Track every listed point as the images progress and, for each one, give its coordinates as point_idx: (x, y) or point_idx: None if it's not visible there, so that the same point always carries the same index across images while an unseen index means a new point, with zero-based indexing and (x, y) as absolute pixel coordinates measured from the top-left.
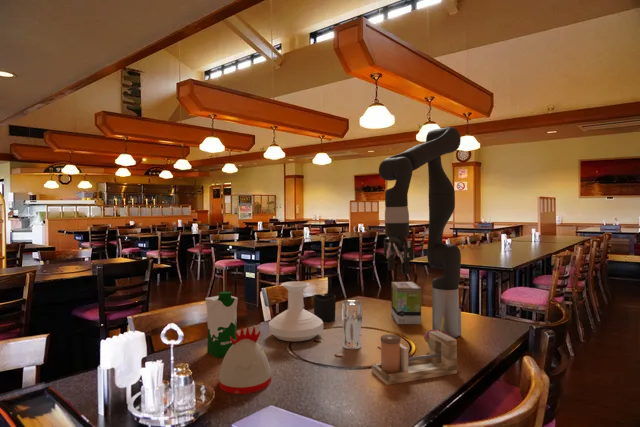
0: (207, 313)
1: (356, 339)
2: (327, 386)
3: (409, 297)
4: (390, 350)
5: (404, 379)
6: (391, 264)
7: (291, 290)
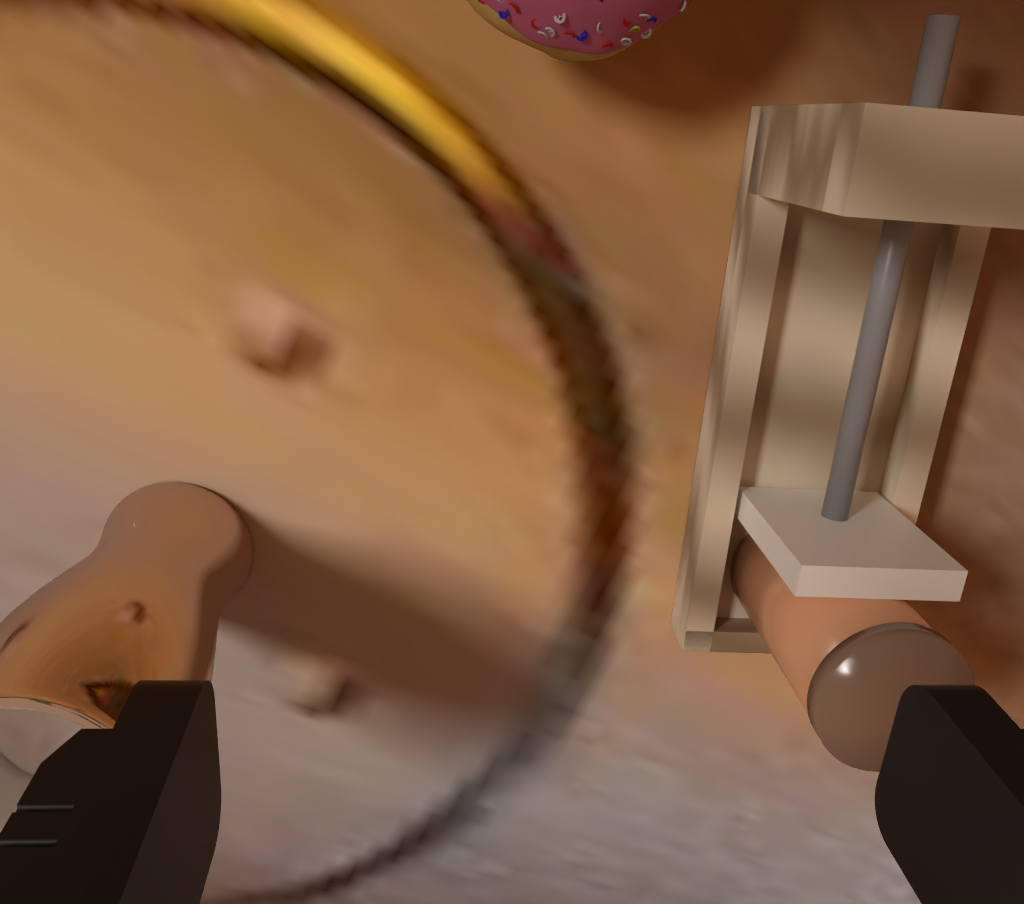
0: None
1: (225, 574)
2: (716, 878)
3: None
4: None
5: None
6: (170, 898)
7: None
